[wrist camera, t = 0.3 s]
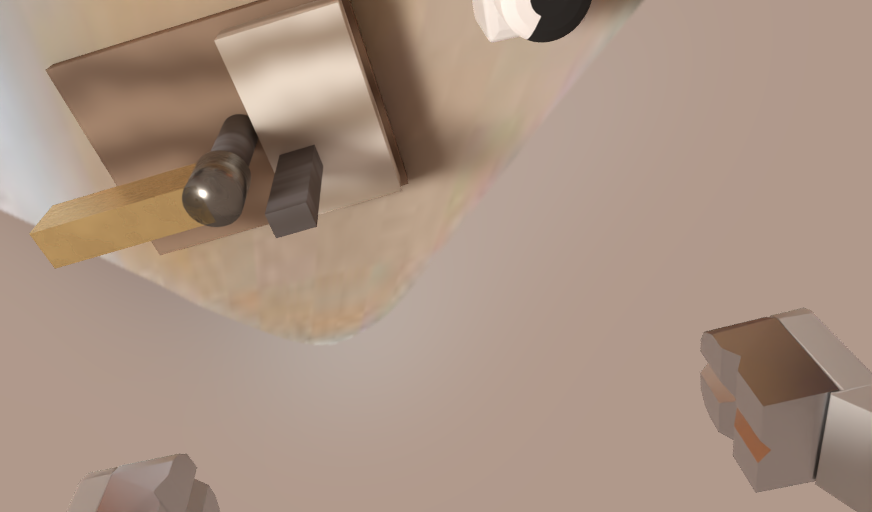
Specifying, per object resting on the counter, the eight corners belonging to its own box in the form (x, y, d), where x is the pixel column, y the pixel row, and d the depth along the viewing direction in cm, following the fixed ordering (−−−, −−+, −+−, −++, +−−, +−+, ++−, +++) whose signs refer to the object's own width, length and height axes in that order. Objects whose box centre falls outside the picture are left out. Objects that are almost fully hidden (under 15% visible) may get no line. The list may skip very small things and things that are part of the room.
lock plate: (53, 64, 51) (-41, 134, 39) (341, -26, 50) (335, 19, 38) (163, 246, 61) (116, 347, 49) (407, 176, 60) (419, 262, 48)
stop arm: (237, 143, 46) (227, 167, 43) (260, 191, 48) (252, 218, 45) (48, 199, 47) (24, 227, 43) (79, 244, 49) (59, 274, 46)
